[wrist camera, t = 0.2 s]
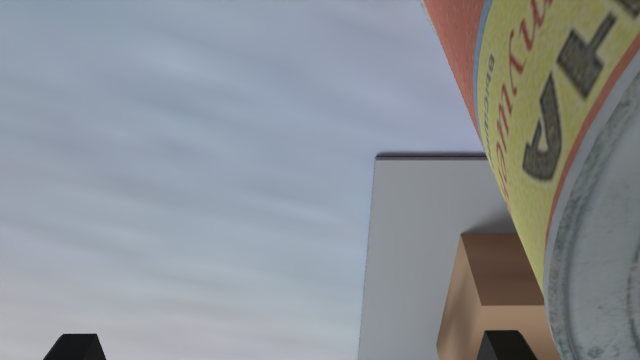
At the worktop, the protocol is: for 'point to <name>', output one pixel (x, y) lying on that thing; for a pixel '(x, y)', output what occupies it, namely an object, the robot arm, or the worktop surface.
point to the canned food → (561, 150)
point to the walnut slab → (492, 298)
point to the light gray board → (421, 247)
